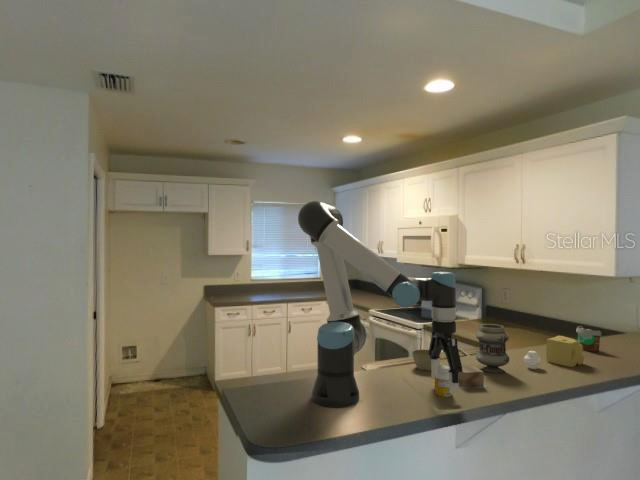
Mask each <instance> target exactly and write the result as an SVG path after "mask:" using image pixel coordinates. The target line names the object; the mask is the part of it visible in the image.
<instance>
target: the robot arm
mask: <svg viewBox="0 0 640 480" xmlns="http://www.w3.org/2000/svg"><path fill="white" fill-rule="evenodd" d="M297 214H298V215H297V216H298V217H297V221H298V225H299V227H300V229H301V230H302V232H304V234H306V235H307V236H309V238H310V242H311V243H310V244H311V245H313V246H314V247H315V248H316V250H317V256H318V260H319V266H320V271H321V275H322V276H321V277H322V281H323V287H324V291H325V296H326V301H327V306H328V311H329V312H328V313H329V315H328V316H327V318H326V323H324V324H322V325H320V327H318V330H317V337H316V341H317V372H316V373H317V374H316V378H315V380H314V383H313V387H312V389H311V399H312V400H311V401H313V402H314V403H316V404H317V405H319V406H321V407H322V406H323V407H327V408H344V407H345V408H348V407H351V406H353V405H356V404H357V403H358V402H360V391H359V386H358V383H357V381H356V378H355V374H354V373H355V372H354V371H355V355H356V354H357V353H358V352H359V351H361V350H362V349H363V347H364V345H365V344H366V340H367V329H366V327H365V325H364V324H363V323H362V321H361V317H360V313H359V312H358V311H356V309H354V305H353V304H354V303H353V299H352V293H351V289H350V284H349V278H348V275H347V269H346V264H345V261H346V262H347V263H348V264H350V265H351V266H352V267H353V268H354V269H356V270H357V271H359V272H360V273H361V274H363V275H364V276H365V277H366V278H368V279H369V281H371V282H372V283H374V284H375V285H376V286H378V287H379V288H380V289H381V290H382V291H384V292H385V293H386V294H388V295H389V296H390V297H391V298H392V299H393V301H394V303H395V304H396V305H397V306H399V307H401V308H406V309H407V308H410V307H413V306H415V305H416V304H417V303H418V302H420V301H421V302H431V318H432V320H431V339H430V343H429V348H428V350H429V351H428V355H430V358H431V370H430V372H431V377H430V378H431V379H432V380H435V374H436V373H437V372H438V371H437V366H440V364H441V363H440V362H441V361H440V360H441V357H440V355H441V353H442V352H443V353H444V354H445V358H446V360H447V363H448V366H449V367H450V370H449V371H448V372H449V393H452V394H459V392H460V391H459V388H460V386H459V377H458V373H459V372H462V371H463V370H462V366H463V365H462V361H461V357H460V352H459V351H460V350H459V347H458V339H457V338H453V336H452V335H453V334H455V333H456V332H457V322H456V321H455V320H456V319H457V318H456V317H457V313H456V312H457V309H456V303H457V300H456V299H457V296H456V294H457V293H456V292H457V291H456V289H457V286H456V275H455V273H453V272H450V271H435V272H432V273H431V276H430V277H426V278H425V277H407V276H405V275H404V274H402V273H401V272H400V271H399V270H397V269H396V268H395V267H394V266H393V265H391V264H390V263H388V262H387V261H386V260H385V259H384V258H382V257H381V256H380V255H378V254H377V253H376V252H374V251H373V250H372V249H370V248H369V247H368V246H367V245H365V244H364V243H363V242H362V241H360V240H359V239H358V238H356V237H355V236H354V235H352V234H351V233H349V231H347V230H346V229H345V228H343V226H344V217H343V215H342V213H341V211H340V210H339V208H337V207H336V206H335V205H333V204H331V203H325V202H322V201H319V200H318V201H317V200H315V201H309V202H307V203H305V204H304V205H303V206H302V207H301V208H300V210H299V212H298V213H297ZM431 351H432V352H431ZM437 358H438V359H437Z"/></svg>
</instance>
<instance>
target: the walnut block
mask: <svg viewBox="0 0 640 480" xmlns="http://www.w3.org/2000/svg"><path fill="white" fill-rule="evenodd" d="M462 370H463V371H462V372H459V373H458V377H459V384H460V385H462V386H463V387H483V386H484V385H485V384H484V383H485V381H484V380H485V379H484V370H481V369H480V368H478V367H476V366H474V365H462Z"/></svg>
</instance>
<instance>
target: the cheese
mask: <svg viewBox="0 0 640 480" xmlns="http://www.w3.org/2000/svg"><path fill="white" fill-rule="evenodd" d="M545 346H546V349H545V350H546V362H548V363H551V364H555V365H560V366H563V367H568V368H573V367H576V365H577V366H578V365H583V364H584V359H585V358H584V355H583V347H582V345H580V344H579V342H578V340H577V339H575V338H572V337H571V338H570V337H567V336H563V335H556V336H554V337H551V338H547V339H546V345H545Z"/></svg>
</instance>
